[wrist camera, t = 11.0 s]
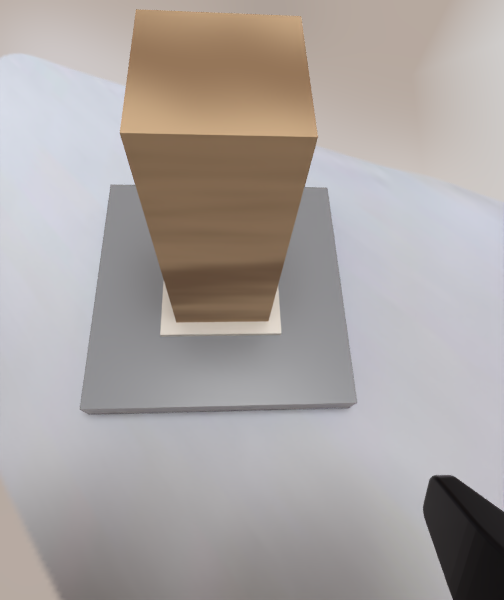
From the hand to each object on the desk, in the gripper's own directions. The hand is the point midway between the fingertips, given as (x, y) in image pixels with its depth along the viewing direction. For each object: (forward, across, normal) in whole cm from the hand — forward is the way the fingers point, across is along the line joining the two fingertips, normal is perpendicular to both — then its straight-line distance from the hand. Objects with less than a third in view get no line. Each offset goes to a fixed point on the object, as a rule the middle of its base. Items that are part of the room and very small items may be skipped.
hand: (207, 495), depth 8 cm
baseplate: (+17, 0, +2) cm, 17 cm away
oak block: (+16, 0, +1) cm, 16 cm away
